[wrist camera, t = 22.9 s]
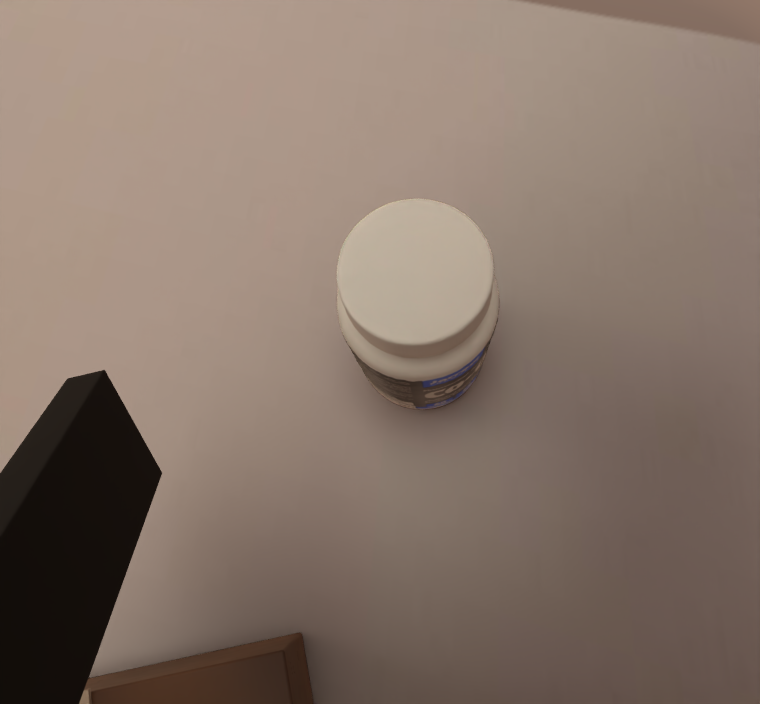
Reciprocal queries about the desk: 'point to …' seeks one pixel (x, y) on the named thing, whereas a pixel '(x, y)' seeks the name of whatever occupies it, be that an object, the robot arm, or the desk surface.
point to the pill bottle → (417, 300)
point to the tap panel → (214, 678)
